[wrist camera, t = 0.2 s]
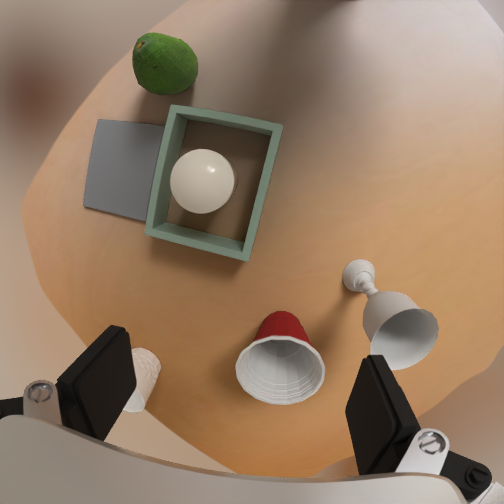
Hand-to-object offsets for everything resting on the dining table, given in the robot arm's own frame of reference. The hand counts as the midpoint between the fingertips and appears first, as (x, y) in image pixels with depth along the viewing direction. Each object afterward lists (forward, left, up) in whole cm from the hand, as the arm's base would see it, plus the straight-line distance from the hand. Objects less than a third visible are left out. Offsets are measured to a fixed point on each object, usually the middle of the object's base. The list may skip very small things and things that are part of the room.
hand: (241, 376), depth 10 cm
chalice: (+3, +15, -31) cm, 34 cm away
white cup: (+29, -15, -31) cm, 45 cm away
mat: (-4, -23, -30) cm, 38 cm away
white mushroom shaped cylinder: (-5, -8, -30) cm, 32 cm away
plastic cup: (+14, +6, -31) cm, 34 cm away
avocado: (-19, -17, -31) cm, 40 cm away
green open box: (-5, -8, -30) cm, 32 cm away
